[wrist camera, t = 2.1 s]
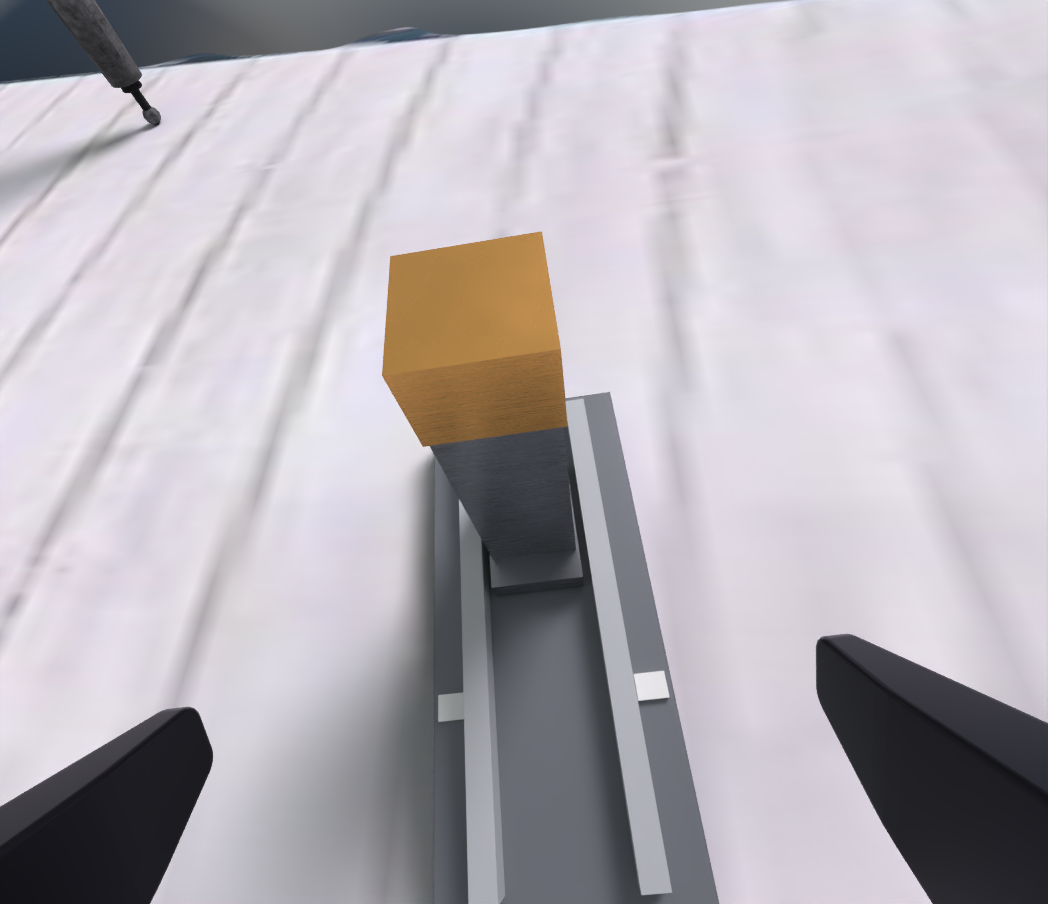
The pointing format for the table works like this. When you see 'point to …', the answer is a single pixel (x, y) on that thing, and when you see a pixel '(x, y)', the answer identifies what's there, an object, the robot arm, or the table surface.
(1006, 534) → the table surface
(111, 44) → the microphone
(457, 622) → the fader track
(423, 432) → the block
